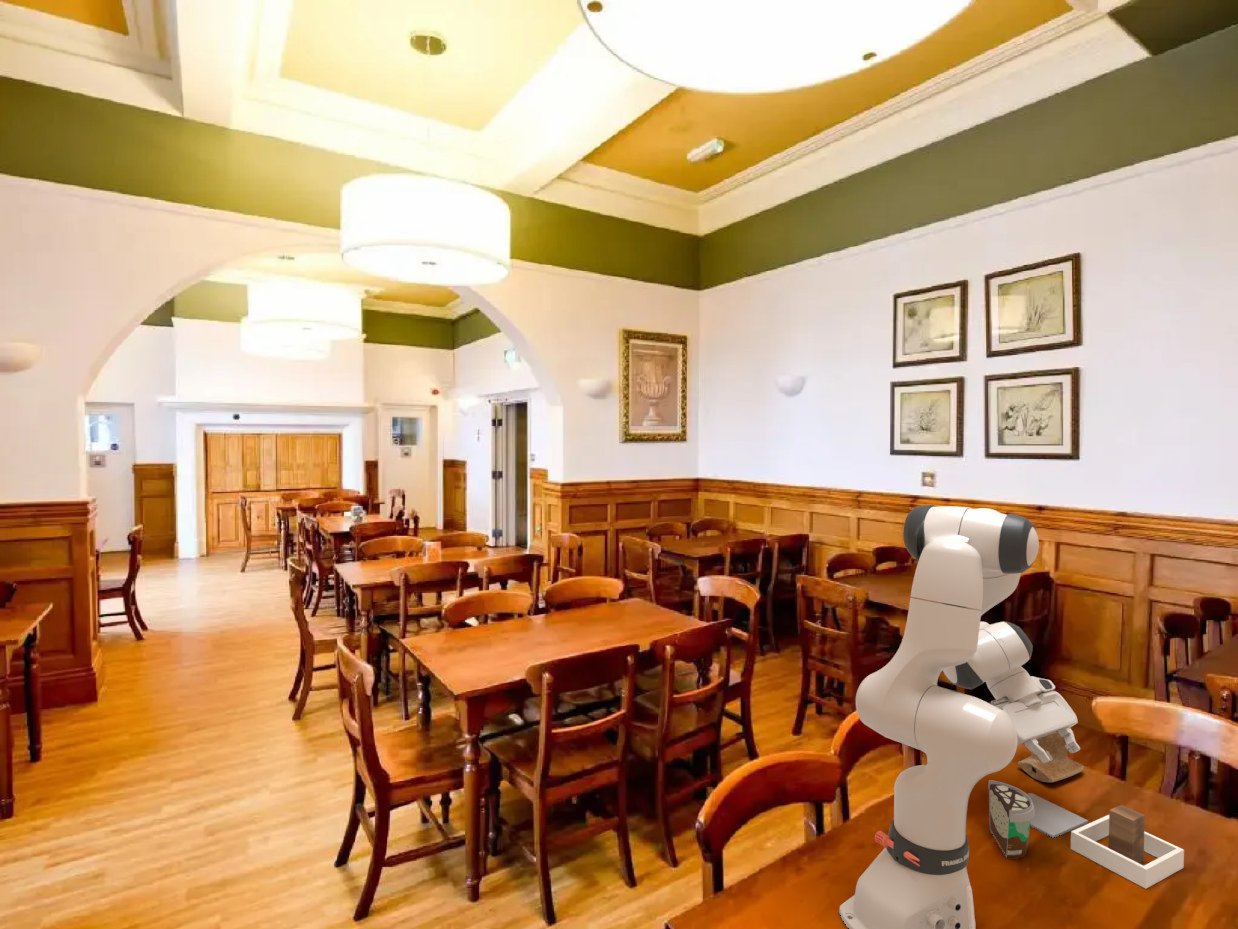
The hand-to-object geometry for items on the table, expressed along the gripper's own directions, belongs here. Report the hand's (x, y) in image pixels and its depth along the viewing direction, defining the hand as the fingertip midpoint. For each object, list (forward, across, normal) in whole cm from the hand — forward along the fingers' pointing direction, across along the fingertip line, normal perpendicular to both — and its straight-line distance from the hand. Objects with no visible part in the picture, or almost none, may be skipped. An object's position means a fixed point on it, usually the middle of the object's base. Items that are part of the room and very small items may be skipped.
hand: (1062, 756), depth 137 cm
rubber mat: (+8, 0, +13) cm, 15 cm away
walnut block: (+19, 0, +2) cm, 19 cm away
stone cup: (0, +20, +21) cm, 29 cm away
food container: (+10, -15, +10) cm, 21 cm away
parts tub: (+19, 0, +2) cm, 19 cm away
